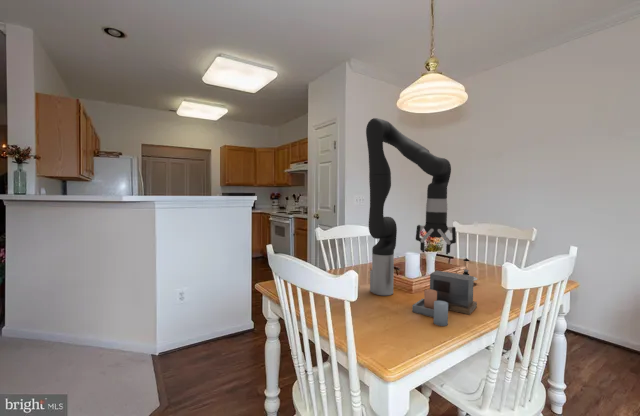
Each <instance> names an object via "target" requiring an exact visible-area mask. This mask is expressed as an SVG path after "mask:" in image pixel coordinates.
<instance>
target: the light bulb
mask: <svg viewBox="0 0 640 416" xmlns="http://www.w3.org/2000/svg"><path fill="white" fill-rule="evenodd" d="M463 261H464V262H463V263H464V267H467V266H466V262H470V260H469V259H468V258H464V259H463ZM469 271H470V270H469V269H468V268H464V269H463V273H462V275H468V276H471V275H470V273H469ZM474 281H478V278H477V277H475V276H474ZM473 284H474V282H473Z"/></svg>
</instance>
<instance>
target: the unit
mask: <svg viewBox="0 0 640 416" xmlns="http://www.w3.org/2000/svg"><path fill="white" fill-rule="evenodd" d="M462 274H463V273H462ZM462 274H461V273H454V272H449V271H442V270H435V271H432V272H431V273H429V289H432V290H436V291H437V301H438V300H439V301H445V302H447V303H448V311H450V312H456V313H461V314H464V315H469V316H470V315H471V314H472V313H473V311H475V310H476V308H477V307H478V305H477V304H478V303H477V302H478V301H475V300H474V283H473V282H474V277H475V276H472V275H470V276H468V275H462Z"/></svg>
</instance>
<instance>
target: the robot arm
mask: <svg viewBox="0 0 640 416" xmlns="http://www.w3.org/2000/svg"><path fill="white" fill-rule="evenodd" d="M365 136H366V142H367V143H366V144H367V151H368V168H369V170H368V171H369V172H368V173H369V175H368V177H369V178H368V180H369V183H368V184H369V212H368V213H369V214H368V231H369V232H368V233H369V234H370V236H371V237H372V238H373V239H374V240H378V241H377V243H376V244H374V245H373V246H372V249H371V253H372V254H371V255H372V256H371V257H372V258H371V259H372V260H371V269H370V272H369V292H371V293H372V294H374V295H377V296H391V295H393V294H394V273H395V272H394V271H395V269H394V268H395V267H394V266H395V264H394V263H395V262H394V261H395V259H394V258H395V257H394V256H395V253H394V252H395V249H396V246H397V233H398V232H397V230H398V228H397V223H396V220H395V219H394V218H393V217H391V216H384V206H385V203H386V200H387V198H388V195H389V193H390V190H391V187H392V176H391V175H392V172H391V168H390V165H389V162H388V160H387V158H386V155H385V152H384V143H385V144H388V145H391V146H392V147H393V148H396V149H397V151H398V152H399V153H401V155H402V156H403V157H405V159H407V160H409V161H410V162H412V163H414V164H415V165H417V167H419V169H421V170H422V171H423V172H424V173H425V174H427V175H430V176H432V179H431V182H430V183H429V184H428V185H427V188H426V189H427V191H426V192H427V193H426V204H425V224H424V225H420V224H417V225H416V232H415V241H418V242H419V243H420V247H419V248H420V251H421V253H424V252H425V250H426V249H425V248H426V247H425V241H426V240H427V239H428V238H429V237H430V238H437V239H440V238H441V239H442V240H444V241H445V242H446V244H445V245H446V246H445V249H446V250H445V255H449V254H450V253H451V245H453V244H456V243H457V236H456V235H457V232H456V227H455V226H448V185H449V183H450V180H451V179H450V178H451V174H452V165H451V163H450V161H449V160H448V159H446V157H445V158H443V157H440V156H436V155H434V154H433V153H431V151H430V150H428V148H426V147H425V146H423V145H421V144H419V143H418V142H416V141H415V140H413V139H411V138H409V137H408V136H406V135H405V134H403V133H402V132H400V130H398V129H397V128H396V127H395V126H394V125H393V124H392V123H390V122H389V121H387V120H384V119H381V118H376V117H374V118H371V119H370V120H369V121H368V123H367V125H366V128H365ZM423 230H424V231H425V232H426V233H425V234H424V236H422V237H420V236H421V232H422V231H423ZM448 231H449V233H451V235H452V236H451V238H452V239H450V238H449V237H448V236H447V235H446V233H447V232H448Z"/></svg>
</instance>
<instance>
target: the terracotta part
mask: <svg viewBox="0 0 640 416" xmlns="http://www.w3.org/2000/svg"><path fill="white" fill-rule="evenodd" d="M423 291H424V294H423V295H424V296H423V297H424V298H423V299H424V307H425V308H429V309H433V310H434V301H437V291H436V290H432V289H430V288H427V289H424V290H423Z"/></svg>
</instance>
